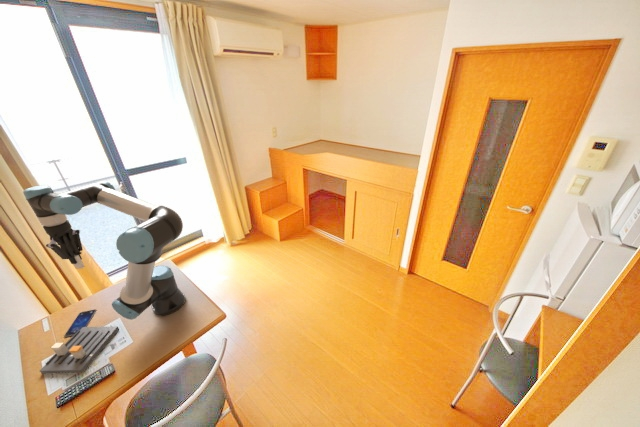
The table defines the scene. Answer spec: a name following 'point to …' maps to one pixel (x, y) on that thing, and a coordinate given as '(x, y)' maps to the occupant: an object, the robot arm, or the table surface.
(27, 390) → the table surface
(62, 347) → the fader
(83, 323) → the smartphone
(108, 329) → the console
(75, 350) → the block
